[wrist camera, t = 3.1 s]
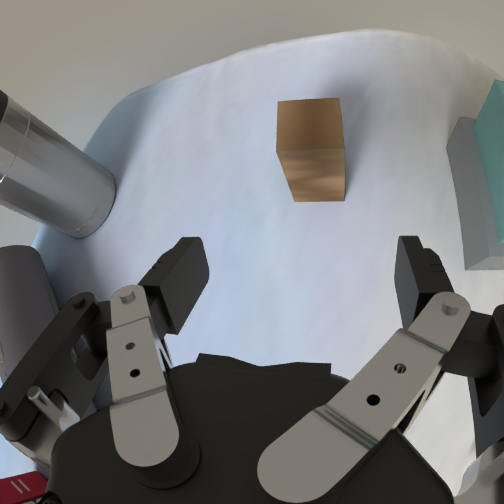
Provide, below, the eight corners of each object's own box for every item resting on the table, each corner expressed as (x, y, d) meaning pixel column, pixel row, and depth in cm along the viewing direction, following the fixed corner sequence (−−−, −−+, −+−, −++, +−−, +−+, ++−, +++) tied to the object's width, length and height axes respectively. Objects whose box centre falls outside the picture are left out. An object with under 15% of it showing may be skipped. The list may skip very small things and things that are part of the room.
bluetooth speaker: (26, 293, 35) (-32, 278, 25) (62, 254, 34) (0, 231, 25) (85, 454, 27) (21, 472, 18) (135, 432, 26) (64, 456, 17)
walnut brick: (294, 202, 28) (276, 151, 20) (295, 159, 29) (277, 101, 21) (344, 201, 27) (344, 148, 19) (341, 157, 28) (339, 98, 20)
